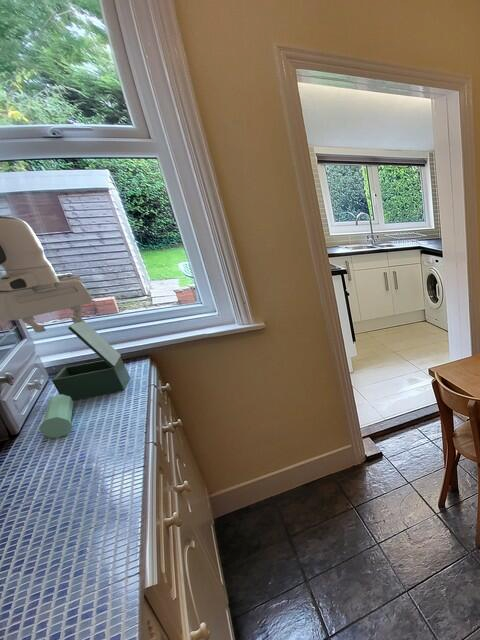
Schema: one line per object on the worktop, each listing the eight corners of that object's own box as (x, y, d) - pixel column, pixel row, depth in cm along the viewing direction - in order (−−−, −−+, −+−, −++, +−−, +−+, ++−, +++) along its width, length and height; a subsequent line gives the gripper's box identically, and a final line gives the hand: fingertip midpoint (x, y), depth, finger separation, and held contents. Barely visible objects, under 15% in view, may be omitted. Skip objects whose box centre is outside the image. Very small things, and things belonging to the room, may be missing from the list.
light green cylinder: (47, 390, 122) (39, 416, 105) (76, 391, 127) (73, 416, 110) (46, 409, 123) (38, 438, 106) (75, 410, 127) (71, 437, 110)
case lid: (67, 327, 124) (70, 326, 124) (78, 318, 134) (81, 317, 135) (111, 367, 133) (114, 366, 133) (118, 356, 143) (121, 355, 143)
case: (64, 402, 129) (51, 380, 126) (74, 388, 139) (63, 367, 136) (124, 390, 136) (113, 368, 133) (130, 377, 146) (120, 357, 143)
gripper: (68, 271, 123) (90, 316, 128) (-23, 286, 104) (8, 337, 110) (85, 271, 121) (106, 316, 127) (-4, 285, 103) (26, 338, 109)
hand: (60, 326), depth 119 cm, fingers open, 8 cm apart
